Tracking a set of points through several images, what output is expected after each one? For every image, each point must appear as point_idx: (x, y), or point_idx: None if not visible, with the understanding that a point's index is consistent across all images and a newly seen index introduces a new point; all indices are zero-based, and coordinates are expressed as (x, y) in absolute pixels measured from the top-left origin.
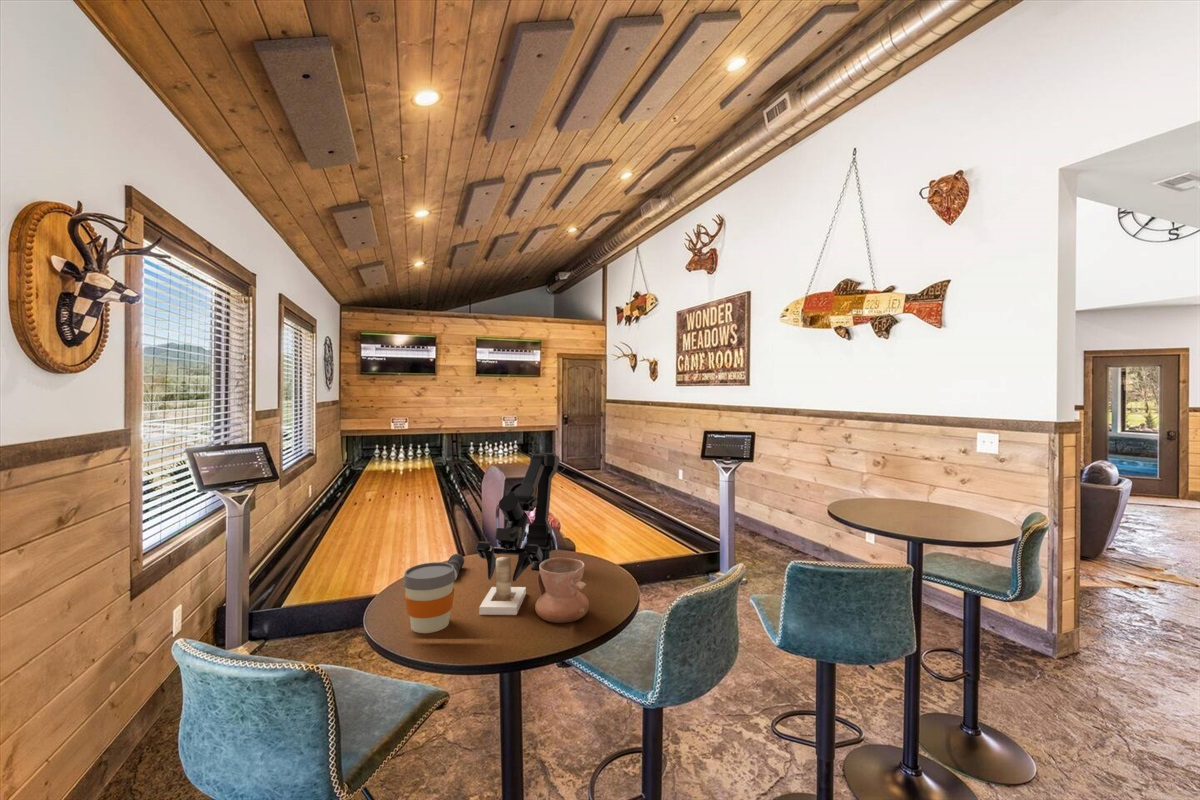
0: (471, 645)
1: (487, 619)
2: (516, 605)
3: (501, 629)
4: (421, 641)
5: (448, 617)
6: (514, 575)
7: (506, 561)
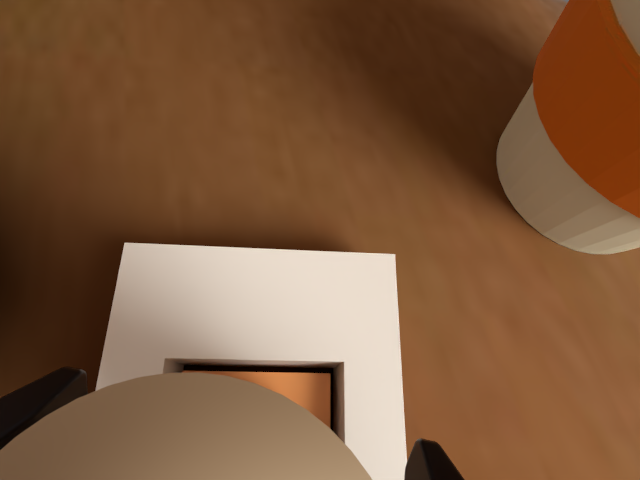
0: (333, 32)
1: None
2: (125, 272)
3: (225, 148)
4: None
5: (521, 128)
6: (25, 399)
7: (39, 426)
